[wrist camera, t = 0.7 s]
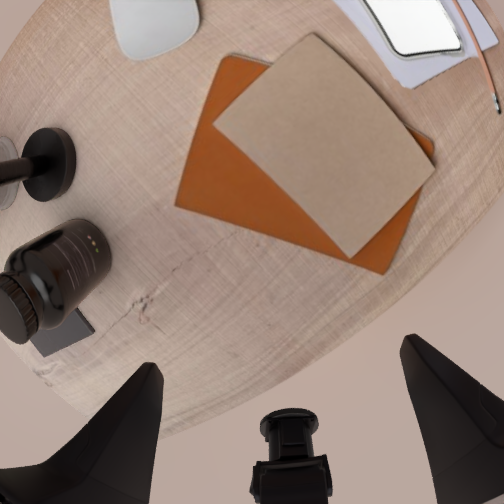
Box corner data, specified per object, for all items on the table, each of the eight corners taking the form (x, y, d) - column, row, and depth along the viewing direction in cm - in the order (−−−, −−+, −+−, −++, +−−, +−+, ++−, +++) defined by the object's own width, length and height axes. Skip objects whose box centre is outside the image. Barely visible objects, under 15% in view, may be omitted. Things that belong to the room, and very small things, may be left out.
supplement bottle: (84, 292, 25) (18, 363, 14) (50, 238, 23) (-31, 291, 12) (126, 265, 24) (51, 345, 12) (88, 203, 21) (-10, 250, 10)
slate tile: (95, 331, 27) (93, 334, 26) (46, 355, 29) (43, 357, 29) (49, 266, 24) (46, 268, 23) (9, 305, 27) (7, 307, 26)
